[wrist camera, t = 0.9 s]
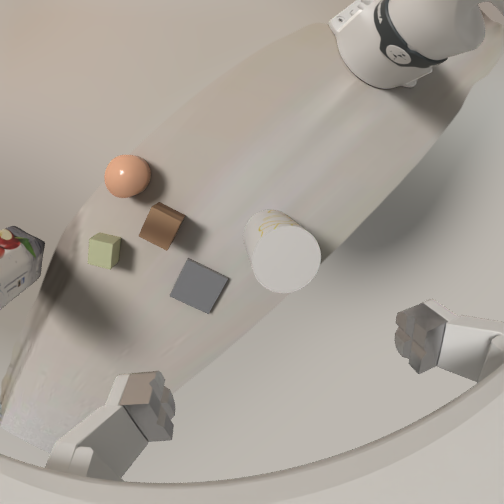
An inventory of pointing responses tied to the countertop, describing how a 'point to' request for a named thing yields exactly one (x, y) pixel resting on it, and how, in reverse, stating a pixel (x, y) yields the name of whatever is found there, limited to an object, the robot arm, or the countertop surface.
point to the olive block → (104, 250)
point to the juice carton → (18, 262)
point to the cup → (281, 251)
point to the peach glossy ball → (127, 176)
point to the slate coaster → (198, 286)
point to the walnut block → (161, 225)
